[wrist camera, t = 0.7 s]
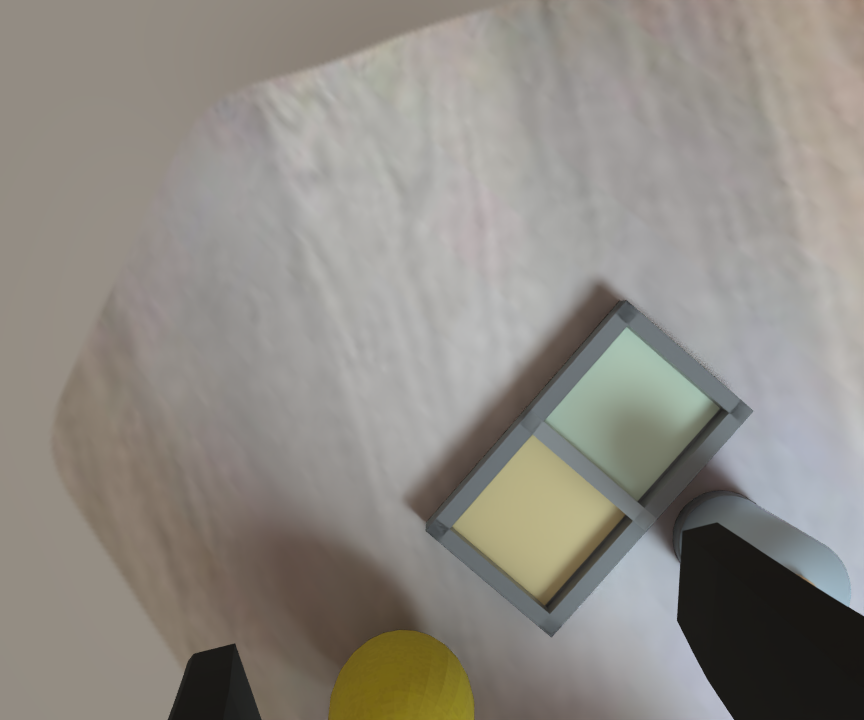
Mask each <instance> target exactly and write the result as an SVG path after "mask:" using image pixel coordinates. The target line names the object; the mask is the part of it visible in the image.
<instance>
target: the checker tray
mask: <svg viewBox="0 0 864 720" xmlns="http://www.w3.org/2000/svg"><path fill="white" fill-rule="evenodd" d="M752 412H753V410H752V409H751V408H750V407H748V406H747V405H746V404H745V403H744V402H743V401H742V400H740V399H739V398H738V397H737V396H736V395H735V394H734V393H732V392H731V391H730V390H729V389H728V388H727V387H725V386H724V385H723V384H722V383H721V382H720V381H719V380H717V379H716V378H715V377H714V376H713V375H712V374H711V373H709V372H708V371H707V370H706V369H705V368H704V367H703V366H701V365H700V364H699V363H698V362H697V361H696V360H694V359H693V358H692V357H691V356H690V355H689V354H688V353H686V352H685V351H684V350H683V349H682V348H681V347H680V346H678V345H677V344H676V343H675V342H674V341H673V340H671V339H670V338H669V337H668V336H667V335H666V334H665V333H663V332H662V331H661V330H660V329H659V328H658V327H657V326H655V325H654V324H653V323H652V322H651V321H650V320H649V319H647V318H646V317H645V316H644V315H643V314H642V313H640V312H639V311H638V310H637V309H636V308H635V307H634V306H632V305H631V304H630V303H629V302H628V301H627V300H626V301H619V302H618V303H617V305H616V306H615V307H614V308H613V309H612V310H611V311H610V313H609V314H608V315H607V316H606V317H605V318H604V319H603V321H602V322H601V323H600V324H599V325H598V326H597V327H596V329H595V330H594V331H593V332H592V333H591V334H590V335H589V337H588V338H587V339H586V340H585V341H584V342H583V343H582V345H581V346H580V347H579V348H578V349H577V350H576V351H575V353H574V354H573V355H572V356H571V357H570V358H569V360H568V361H567V362H566V363H565V364H564V365H563V366H562V368H561V369H560V370H559V371H558V372H557V373H556V374H555V376H554V377H553V378H552V379H551V380H550V381H549V382H548V384H547V385H546V386H545V387H544V388H543V389H542V390H541V392H540V393H539V394H538V395H537V396H536V397H535V398H534V400H533V401H532V402H531V403H530V404H529V405H528V407H527V408H526V409H525V410H524V411H523V412H522V413H521V415H520V416H519V417H518V418H517V419H516V420H515V421H514V423H513V424H512V425H511V426H510V427H509V428H508V429H507V431H506V432H505V433H504V434H503V435H502V436H501V437H500V439H499V440H498V441H497V442H496V443H495V444H494V445H493V447H492V448H491V449H490V450H489V451H488V452H487V453H486V455H485V456H484V457H483V458H482V459H481V460H480V462H479V463H478V464H477V465H476V466H475V467H474V468H473V470H472V471H471V472H470V473H469V474H468V475H467V476H466V478H465V479H464V480H463V481H462V482H461V483H460V484H459V486H458V487H457V488H456V489H455V490H454V491H453V492H452V494H451V495H450V496H449V497H448V498H447V499H446V500H445V502H444V503H443V504H442V505H441V506H440V507H439V509H438V510H437V511H436V512H435V513H434V514H433V515H432V517H431V518H430V519H429V520H428V521H427V522H426V532H428V533H429V534H430V535H431V536H432V537H434V538H435V539H436V540H437V541H438V542H439V543H441V544H442V545H443V546H444V547H445V548H446V549H448V550H449V551H450V552H451V553H452V554H454V555H455V556H456V557H457V558H458V559H459V560H461V561H462V562H463V563H464V564H465V565H467V566H468V567H469V568H470V569H471V570H472V571H474V572H475V573H476V574H477V575H478V576H479V577H481V578H482V579H483V580H484V581H485V582H487V583H488V584H489V585H490V586H491V587H492V588H494V589H495V590H496V591H497V592H498V593H500V594H501V595H502V596H503V597H504V598H505V599H507V600H508V601H509V602H510V603H511V604H513V605H514V606H515V607H516V608H517V609H518V610H520V611H521V612H522V613H523V614H524V615H525V616H527V617H528V618H529V619H530V620H531V621H533V622H534V623H535V624H536V625H537V626H538V627H540V628H541V629H542V630H543V631H544V632H546V633H547V634H548V635H549V636H550V637H552V636H553V635H554V634H555V633H556V632H557V631H558V630H559V629H560V627H561V626H562V625H563V624H564V623H565V622H566V621H567V620H568V618H569V617H570V616H571V615H572V614H573V613H574V612H575V611H576V609H577V608H578V607H579V606H580V605H581V604H582V603H583V602H584V601H585V599H586V598H587V597H588V596H589V595H590V594H591V593H592V592H593V590H594V589H595V588H596V587H597V586H598V585H599V584H600V583H601V581H602V580H603V579H604V578H605V577H606V576H607V575H608V574H609V573H610V571H611V570H612V569H613V568H614V567H615V566H616V565H617V564H618V562H619V561H620V560H621V559H622V558H623V557H624V556H625V555H626V553H627V552H628V551H629V550H630V549H631V548H632V547H633V546H634V545H635V543H636V542H637V541H638V540H639V539H640V538H641V537H642V536H643V534H644V533H645V532H646V531H647V530H648V529H649V528H650V527H651V525H652V524H653V523H654V522H655V521H656V520H657V519H658V518H659V517H660V515H661V514H662V513H663V512H664V511H665V510H666V509H667V508H668V506H669V505H670V504H671V503H672V502H673V501H674V500H675V499H676V497H677V496H678V495H679V494H680V493H681V492H682V491H683V490H684V488H685V487H686V486H687V485H688V484H689V483H690V482H691V481H692V480H693V478H694V477H695V476H696V475H697V474H698V473H699V472H700V471H701V469H702V468H703V467H704V466H705V465H706V464H707V463H708V462H709V460H710V459H711V458H712V457H713V456H714V455H715V454H716V453H717V452H718V450H719V449H720V448H721V447H722V446H723V445H724V444H725V443H726V441H727V440H728V439H729V438H730V437H731V436H732V435H733V434H734V432H735V431H736V430H737V429H738V428H739V427H740V426H741V425H742V424H743V422H744V421H745V420H746V419H747V418H748V417H749V416H750V415H751V413H752Z"/></svg>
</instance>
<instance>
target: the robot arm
mask: <svg viewBox="0 0 864 720" xmlns="http://www.w3.org/2000/svg"><path fill="white" fill-rule="evenodd" d="M677 621H678V623H679V625H680V627H681V629H682V631H683V633H684V635H685V637H686V639H687V641H688V643H689V645H690V647H691V649H692V651H693V653H694V655H695V657H696V659H697V661H698V663H699V665H700V666H701V668H702V670H703V672H704V674H705V676H706V678H707V679H708V681H709V683H710V684H711V686H712V687H713V689H714V690H715V692H716V693H717V695H718V696H719V698H720V699H721V701H722V702H723V704H724V705H725V707H726V708H727V710H728V711H729V713H730V714H731V716H732V717H733V719H734V720H864V616H863V615H861V614H859V613H857V612H856V611H854V610H852V609H851V608H849V607H848V606H846V605H844V604H843V603H841V602H839V601H838V600H836V599H835V598H833V597H831V596H830V595H828V594H827V593H825V592H823V591H822V590H820V589H819V588H817V587H815V586H814V585H812V584H811V583H809V582H808V581H806V580H805V579H803V578H801V577H800V576H798V575H797V574H795V573H794V572H792V571H791V570H789V569H788V568H786V567H785V566H783V565H781V564H780V563H778V562H777V561H775V560H774V559H772V558H771V557H769V556H768V555H766V554H765V553H763V552H762V551H760V550H759V549H757V548H756V547H754V546H753V545H751V544H750V543H748V542H747V541H745V540H744V539H742V538H741V537H739V536H738V535H736V534H735V533H733V532H732V531H730V530H728V529H727V528H725V527H724V526H722V525H721V524H719V523H718V522H716V523H712V524H708V525H704V526H700V527H696V528H692V529H688V530H684V531H682V546H681V563H680V579H679V596H678V613H677ZM168 720H261V717H260V714H259V711H258V708H257V705H256V702H255V700H254V697H253V694H252V691H251V688H250V685H249V682H248V679H247V677H246V674H245V671H244V668H243V665H242V662H241V659H240V656H239V653H238V651H237V648H236V645H235V644H231V645H227V646H223V647H219V648H215V649H211V650H207V651H203V652H199V653H195V654H193V656H192V657H191V658H190V659H189V661H188V663H187V666H186V669H185V672H184V675H183V678H182V681H181V684H180V687H179V690H178V693H177V696H176V699H175V701H174V704H173V707H172V710H171V712H170V715H169V718H168Z"/></svg>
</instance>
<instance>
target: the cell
mask: <svg viewBox="0 0 864 720" xmlns="http://www.w3.org/2000/svg"><path fill="white" fill-rule="evenodd" d="M716 522H718V523H719V524H721V525H722V526H724V527H725V528H727V529H728V530H730V531H732V532H733V533H735V534H736V535H738V536H739V537H741V538H742V539H744V540H745V541H747V542H748V543H750V544H751V545H753V546H754V547H756V548H757V549H759V550H760V551H762V552H763V553H765V554H766V555H768V556H769V557H771V558H772V559H774V560H775V561H777V562H778V563H780V564H781V565H783V566H785V567H786V568H788V569H789V570H791V571H792V572H794V573H795V574H797V575H798V576H800V577H801V578H803V579H805V580H806V581H808V582H809V583H811V584H812V585H814V586H815V587H817V588H819V589H820V590H822V591H823V592H825V593H827V594H828V595H830V596H831V597H833V598H835V599H836V600H838V601H839V602H841V603H843V604H844V605H846V606H848V607H849V605H850V599H851V585H850V580H849V576H848V573H847V570H846V568H845V566H844V564H843V563H842V561H841V560H840V558H839V557H838V556H837V555H836V554H835V553H834V552H833V551H832V550H831V549H830V548H829V547H827V546H826V545H824V544H823V543H821V542H819V541H817V540H816V539H814V538H812V537H811V536H809V535H807V534H806V533H804V532H802V531H801V530H799V529H797V528H796V527H794V526H792V525H790V524H789V523H787V522H785V521H784V520H782V519H780V518H779V517H777V516H775V515H774V514H772V513H770V512H768V511H767V510H765V509H763V508H762V507H760V506H758V505H757V504H756V503H754V502H753V501H751V500H749V499H747V498H746V497H744V496H742V495H740V494H737V493H734V492H730V491H712V492H708V493H705V494H702V495H700V496H698V497H696V498H694V499H693V500H692V501H690V502H689V503H688V504H687V505H686V506H685V507H684V508H683V510H682V511H681V513H680V514H679V516H678V518H677V520H676V522H675V526H674V531H673V545H674V550H675V553H676V556H677V558H678V560H679V561H680V563H681V546H682V531H684V530H688V529H692V528H696V527H700V526H704V525H708V524H712V523H716Z"/></svg>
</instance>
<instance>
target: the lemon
mask: <svg viewBox="0 0 864 720" xmlns="http://www.w3.org/2000/svg"><path fill="white" fill-rule="evenodd" d="M328 720H474V698H473V694H472V690H471V686H470V683H469V679H468V676H467V674H466V672H465V670H464V669H463V667H462V665H461V663H460V662H459V660H458V658H457V657H456V656H455V655H454V654H453V653H452V652H451V651H450V650H449V649H448V648H447V647H446V645H445V644H443V643H441V642H440V641H438V640H437V639H435V638H433V637H432V636H430V635H427V634H424V633H421V632H418V631H412V630H396V631H391V632H385V633H382V634H380V635H378V636H376V637H374V638H372V639H370V640H368V641H367V642H366V643H364V644H363V645H362V646H361V647H360V648H358V649H357V650H356V651H355V652H354V653H353V654H352V655H351V657H350V658H349V659H348V661H347V662H346V664H345V665H344V666H343V668H342V669H341V671H340V673H339V675H338V678H337V680H336V683H335V685H334V688H333V691H332V694H331V699H330V707H329V716H328Z"/></svg>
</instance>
